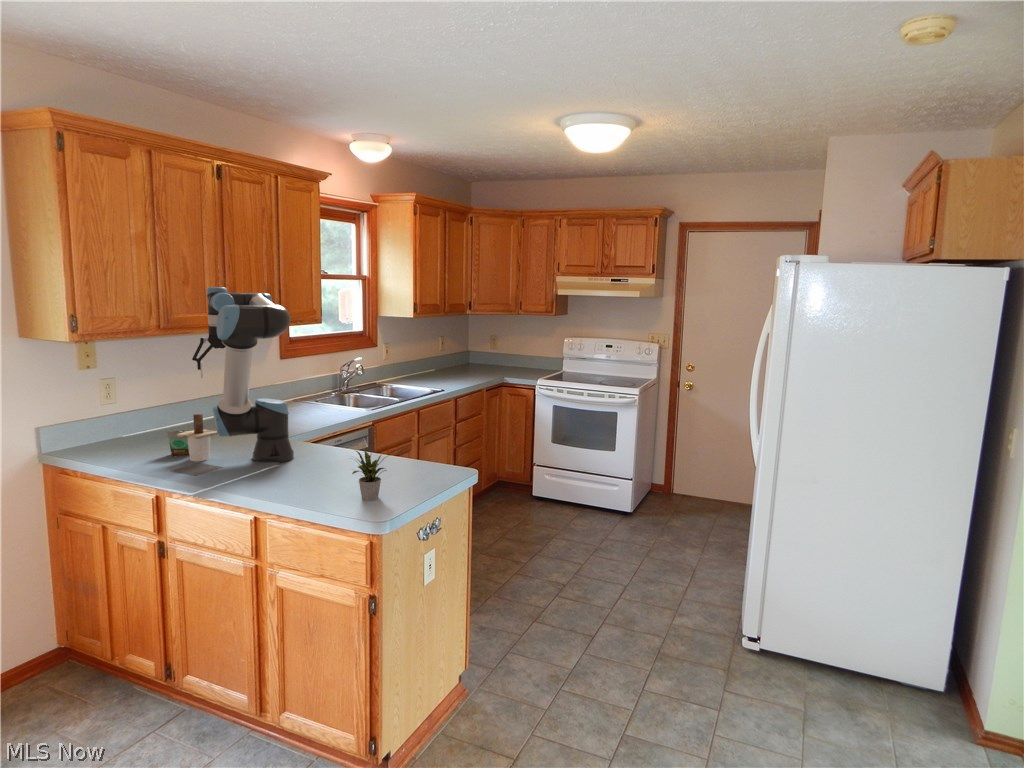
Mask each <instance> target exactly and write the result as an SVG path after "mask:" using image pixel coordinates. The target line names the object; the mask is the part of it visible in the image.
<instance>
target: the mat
mask: <svg viewBox="0 0 1024 768" xmlns="http://www.w3.org/2000/svg"><path fill="white" fill-rule="evenodd" d="M223 468H224V466H220V465H219V466H218V465H214V464H208V463H202V462H196V463H192V464H189V465H186V466H182V467H178V468H175V469H171V470H170V472H172V473H177V474H182V475H183V474H184V475H189V476H194V477H197V476H199V475H203V474H206V473H209V472H213V471H216V470H219V469H223Z"/></svg>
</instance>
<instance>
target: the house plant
mask: <svg viewBox="0 0 1024 768" xmlns="http://www.w3.org/2000/svg"><path fill="white" fill-rule="evenodd" d="M354 451H355V452H356V453H357V454H358V455H359V458H360V459H358V458H357V457H355V459H354V456H352V455H351V457H352V458H350V459H353V460H354V461H357V463H358V465H359V466H357V468H359V470H355V469H352V470H353V472H352V473H351V475H353V474H354V475H355V474H356V473H359V472H360V473H362V474H363V475H364V476H361V477H359V478H358V483H359V491H360V495H361V499H362V500H363V499H364V501H374V500H373V499H375V500H377V499H379V493H380V488H381V487H380V486H381V481H382V478H381V477H379V475H380V474H382V473H384V472H388V471H389V470H387V468H386V467H379V465H381V463H382V462H383V461H384V460H385V459H386V458H387V457H389V456H391V454H388V455H387V456H384V457H383V458H382V459H381V457H382V454H383V453H380V455H379V456H378V458H377V459H374V461H372V457H371V456H372V455H373V452H371V453H370V454H369V453H368V452H367V451H366V450H364V458H363V455H362V454H361V453H360V452H359V451H358V450H356V449H354ZM372 451H374V449H372ZM364 459H365V461H364ZM380 459H381V460H380ZM379 460H380V461H379ZM378 462H379V463H378ZM360 464H361V465H360ZM378 467H379V468H378ZM384 469H386V470H384ZM381 470H382V471H381ZM378 473H380V474H378ZM377 474H378V475H377ZM376 498H377V499H376Z"/></svg>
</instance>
